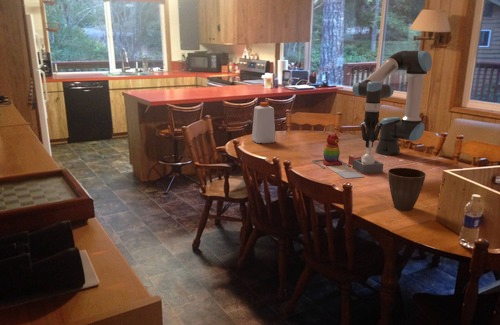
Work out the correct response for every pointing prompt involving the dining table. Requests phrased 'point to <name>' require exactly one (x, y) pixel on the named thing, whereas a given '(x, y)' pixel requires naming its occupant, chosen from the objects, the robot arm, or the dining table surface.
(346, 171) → the track
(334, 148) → the stacking bear
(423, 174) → the plant pot
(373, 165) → the popper base
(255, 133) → the plastic bottle
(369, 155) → the dome
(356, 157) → the die
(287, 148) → the dining table surface
